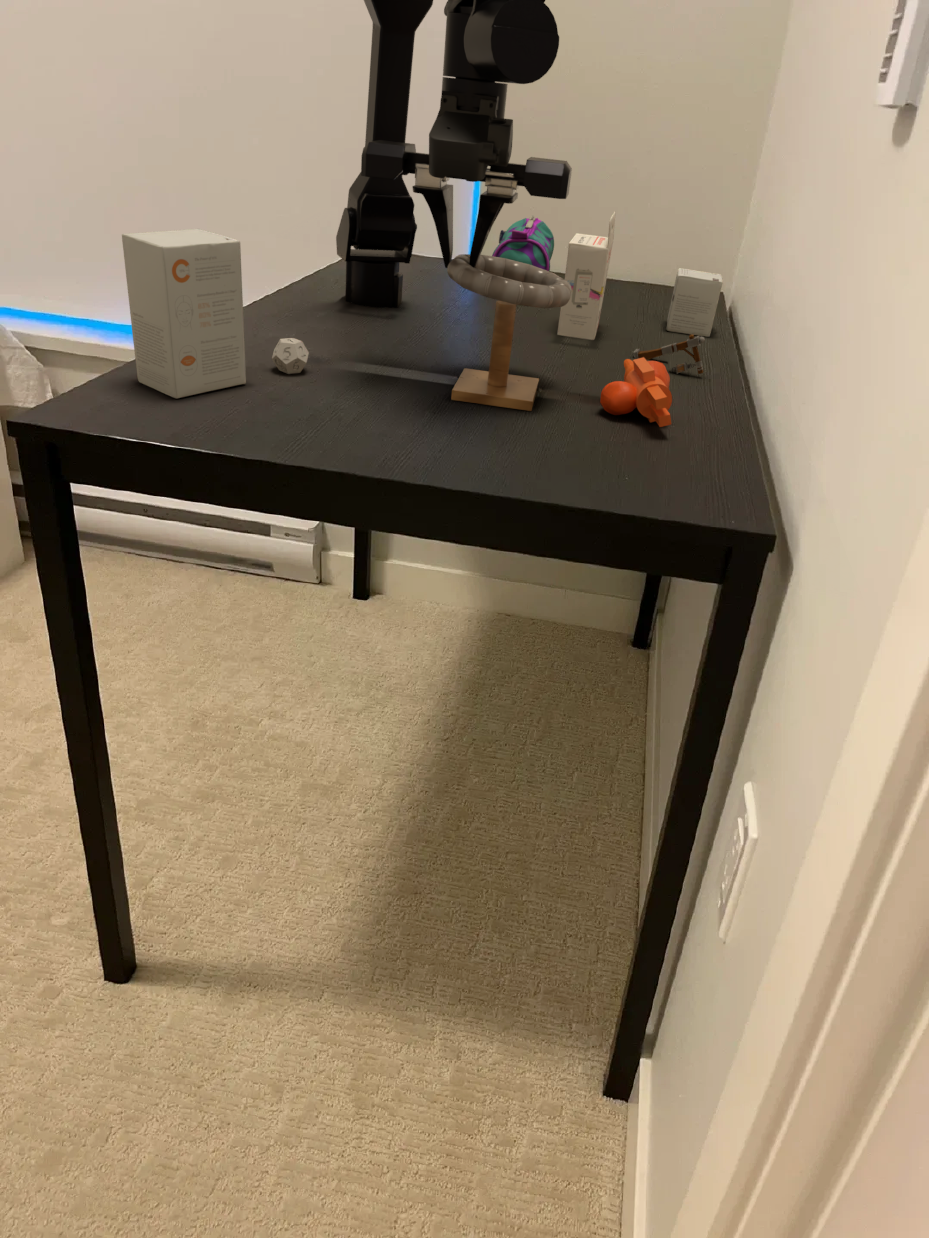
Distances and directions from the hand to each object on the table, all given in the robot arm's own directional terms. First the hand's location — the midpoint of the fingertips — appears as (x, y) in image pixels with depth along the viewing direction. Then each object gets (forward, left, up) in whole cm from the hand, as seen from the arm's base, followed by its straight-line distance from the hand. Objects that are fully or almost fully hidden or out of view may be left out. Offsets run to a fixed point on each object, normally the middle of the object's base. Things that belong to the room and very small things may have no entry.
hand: (459, 269), depth 85 cm
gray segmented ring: (+5, 0, 0) cm, 5 cm away
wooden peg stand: (+5, -1, -11) cm, 12 cm away
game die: (-16, -3, -12) cm, 20 cm away
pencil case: (+2, +52, -12) cm, 54 cm away
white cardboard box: (+27, +40, -12) cm, 50 cm away
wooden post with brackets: (+23, +17, -12) cm, 31 cm away
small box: (-23, -11, -12) cm, 28 cm away
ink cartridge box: (+12, +27, -12) cm, 32 cm away
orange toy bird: (+19, -2, -12) cm, 22 cm away
